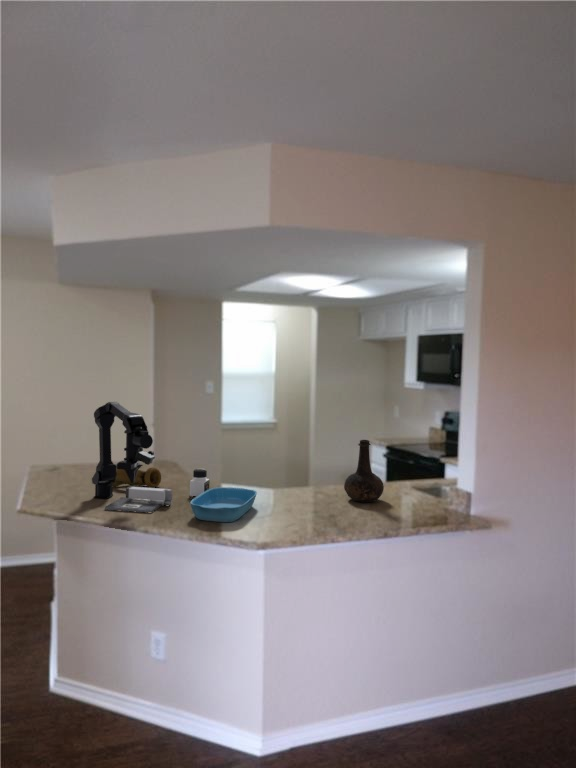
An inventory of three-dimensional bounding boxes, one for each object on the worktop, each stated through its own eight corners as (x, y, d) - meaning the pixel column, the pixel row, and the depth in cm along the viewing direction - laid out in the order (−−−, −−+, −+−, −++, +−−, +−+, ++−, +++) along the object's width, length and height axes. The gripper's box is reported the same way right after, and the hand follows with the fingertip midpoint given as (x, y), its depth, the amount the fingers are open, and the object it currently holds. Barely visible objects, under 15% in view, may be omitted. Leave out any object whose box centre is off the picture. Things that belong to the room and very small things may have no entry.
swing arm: (173, 498, 237) (173, 489, 237) (170, 501, 233) (170, 491, 233) (129, 495, 240) (130, 486, 240) (125, 498, 236) (125, 488, 236)
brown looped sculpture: (131, 464, 282) (164, 462, 271) (128, 490, 278) (161, 489, 267) (103, 458, 267) (137, 456, 256) (99, 485, 263) (133, 484, 252)
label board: (104, 509, 226) (104, 504, 226) (121, 500, 242) (121, 495, 241) (159, 513, 223) (159, 508, 222) (173, 503, 238) (173, 498, 238)
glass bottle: (390, 500, 256) (392, 440, 254) (368, 507, 243) (371, 444, 241) (358, 493, 268) (360, 436, 266) (336, 499, 255) (338, 439, 253)
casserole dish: (213, 499, 248) (213, 483, 248) (261, 503, 244) (262, 487, 244) (181, 523, 212) (182, 504, 212) (237, 528, 208) (238, 510, 208)
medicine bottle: (204, 497, 250) (204, 471, 250) (189, 496, 251) (189, 470, 251) (209, 493, 257) (209, 468, 257) (194, 492, 258) (195, 467, 258)
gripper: (143, 450, 217) (142, 489, 217) (160, 442, 235) (159, 479, 236) (116, 448, 218) (115, 487, 219) (135, 441, 237) (134, 477, 237)
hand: (132, 482), depth 228 cm, fingers closed
